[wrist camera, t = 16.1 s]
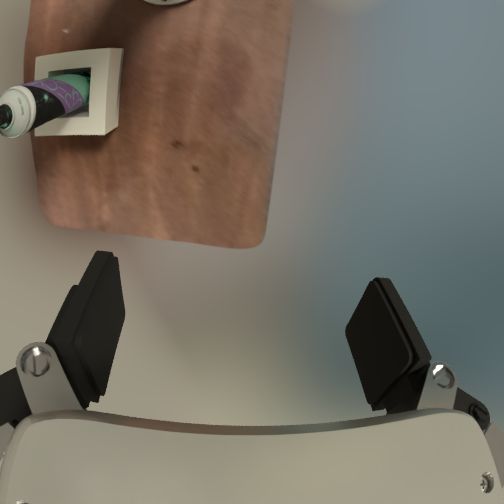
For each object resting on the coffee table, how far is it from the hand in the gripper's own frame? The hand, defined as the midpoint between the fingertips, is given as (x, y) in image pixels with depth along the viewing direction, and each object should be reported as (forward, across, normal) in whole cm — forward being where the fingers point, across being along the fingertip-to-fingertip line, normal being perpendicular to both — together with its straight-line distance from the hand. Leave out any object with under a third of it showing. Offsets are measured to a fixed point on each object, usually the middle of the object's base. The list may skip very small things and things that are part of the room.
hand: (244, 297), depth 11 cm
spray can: (+36, +23, -3) cm, 42 cm away
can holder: (+36, +23, -3) cm, 43 cm away
